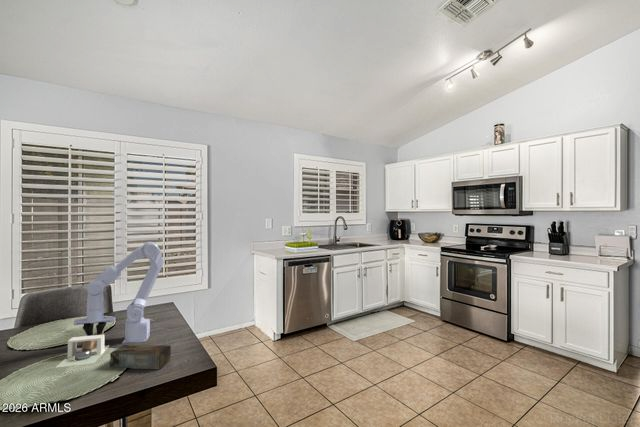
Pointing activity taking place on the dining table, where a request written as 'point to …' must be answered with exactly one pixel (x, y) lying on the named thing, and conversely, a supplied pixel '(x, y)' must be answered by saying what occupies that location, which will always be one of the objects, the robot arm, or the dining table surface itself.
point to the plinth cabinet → (73, 341)
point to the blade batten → (90, 343)
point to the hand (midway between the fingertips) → (94, 340)
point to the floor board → (90, 360)
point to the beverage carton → (140, 356)
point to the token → (82, 354)
